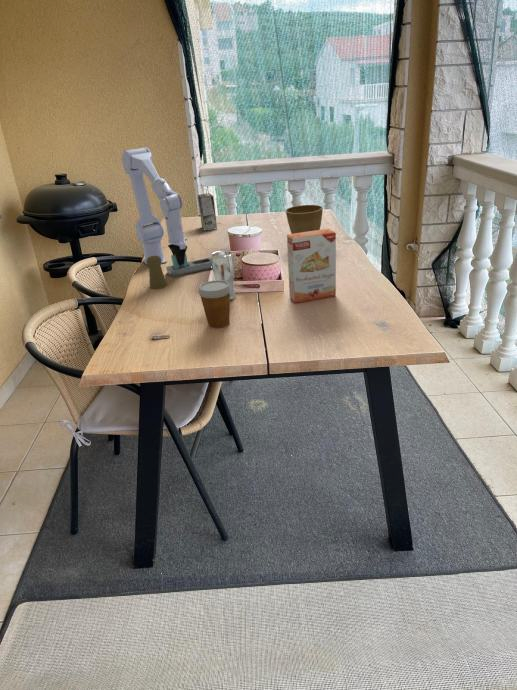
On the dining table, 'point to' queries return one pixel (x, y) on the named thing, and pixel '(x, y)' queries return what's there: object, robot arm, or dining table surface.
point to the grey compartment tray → (190, 267)
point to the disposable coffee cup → (216, 302)
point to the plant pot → (304, 218)
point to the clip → (175, 263)
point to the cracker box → (312, 265)
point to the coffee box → (207, 211)
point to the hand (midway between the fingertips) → (180, 263)
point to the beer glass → (224, 268)
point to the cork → (156, 272)
